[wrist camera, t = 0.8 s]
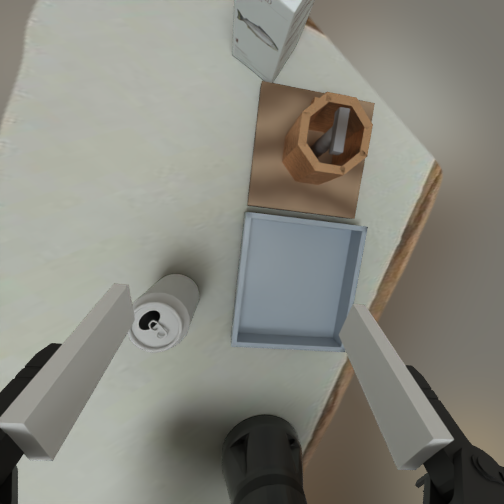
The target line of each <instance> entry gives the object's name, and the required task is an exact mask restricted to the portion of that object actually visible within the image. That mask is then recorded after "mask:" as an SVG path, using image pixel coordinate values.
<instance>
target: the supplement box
mask: <svg viewBox="0 0 504 504" xmlns="http://www.w3.org/2000/svg"><path fill="white" fill-rule="evenodd" d="M314 1H315V0H234V19H233V46H232V55H233V56H234V57H236V58H237V59H239V60H240V61H241V62H243V63H244V64H245V65H246V66H248V67H249V68H250V69H251V70H252V71H254V72H255V73H256V74H257V75H258V76H259V77H261V78H262V79H263V80H264V81H265V82H270V83H273V82H274V80H275V78H276V77H277V75H278V74H279V72H280V70H281V69H282V67H283V66H284V64H285V63H286V61H287V59H288V58H289V56H290V55H291V53H292V52H293V50H294V48H295V47H296V45H297V43H298V40H299V38H300V35H301V33H302V31H303V29H304V26H305V24H306V21H307V19H308V16H309V14H310V11H311V9H312V6H313V4H314Z"/></svg>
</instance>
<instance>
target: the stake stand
mask: <svg viewBox="0 0 504 504" xmlns="http://www.w3.org/2000/svg"><path fill="white" fill-rule="evenodd" d="M324 94H325V93H320V92H315V91H310V90H305V89H300V88H295V87H290V86H285V85H280V84H275V83H270V82H265V81H262V83H261V88H260V97H259V106H258V115H257V124H256V132H255V141H254V150H253V159H252V168H251V177H250V186H249V195H248V204H247V205H248V206H255V207H263V208H271V209H279V210H287V211H294V212H302V213H310V214H318V215H326V216H334V217H341V218H349V219H353V218H355V212H356V207H357V201H358V195H359V190H360V184H361V178H362V173H363V167H364V161H365V158H364V159H363V160H362V161H361V162H359V163H358V164H357V165H356V166H354V167H353V168H352V169H351V170H349V171H348V172H347V173H346V174H344V175H343V176H340V177H338V178H335V179H333V180H330V181H328V182H325V183H322V184H320V185H314V184H307V183H300V182H296V181H295V180H294V179H293V177H292V176H291V174H290V173H289V172H288V170H287V169H286V167H285V166H284V164H283V163H282V158H283V150H284V142H285V136H286V135H287V133H288V132H289V130H290V129H291V127H292V126H293V125H294V123H295V122H296V120H297V119H298V117H299V116H300V114H301V113H302V111H304V110H305V109H306V108H308V107H309V106H310V105H311V102H312V100H313V99H314V97H318V98H320V97H321V96H323V95H324ZM358 101H359V103H360V104H361V106H362V108H363V109H364V111H365V113H366V114H367V116H368V118H369V119H370V121H372V116H373V110H374V104H375V103H370V102H365V101H360V100H358ZM349 112H350V109H349V108H344V107H340V108H339V109H338V110H337V111H336V112H335V116H334V122H333V126H332V127H331V128H330V129H329V130H328V131H327V132H326V133H325V134H324V132H319V131H314V130H308V135H307V142H306V143H307V144H308V146H309V147H310V149H311V150H312V152H313V153H314V155H315V156H316V158H317V159H318V161H319V162H320V163H325V164H331V162H332V156H333V155H340V154H341V153H343V149H344V143H345V137H346V130H347V124H348V118H349Z"/></svg>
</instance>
